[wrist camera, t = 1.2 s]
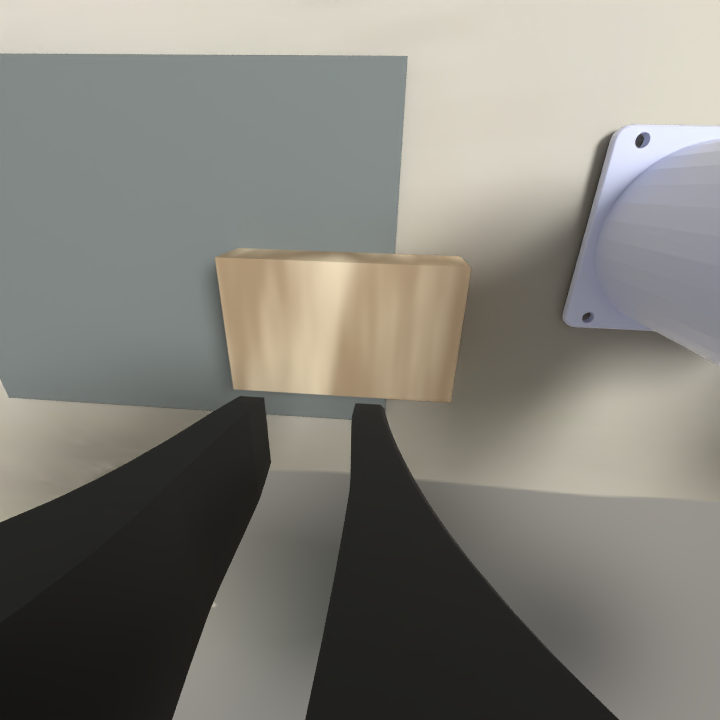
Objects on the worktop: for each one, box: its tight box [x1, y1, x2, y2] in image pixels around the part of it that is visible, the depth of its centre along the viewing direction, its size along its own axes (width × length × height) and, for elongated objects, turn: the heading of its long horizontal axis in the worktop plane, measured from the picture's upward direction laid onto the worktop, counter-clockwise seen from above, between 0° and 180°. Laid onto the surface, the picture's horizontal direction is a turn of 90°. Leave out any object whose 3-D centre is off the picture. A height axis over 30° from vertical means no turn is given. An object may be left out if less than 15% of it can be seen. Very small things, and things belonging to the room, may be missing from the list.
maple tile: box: [215, 248, 471, 403], centre depth 17 cm, size 2×6×10 cm
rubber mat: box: [0, 54, 408, 420], centre depth 18 cm, size 22×16×1 cm
